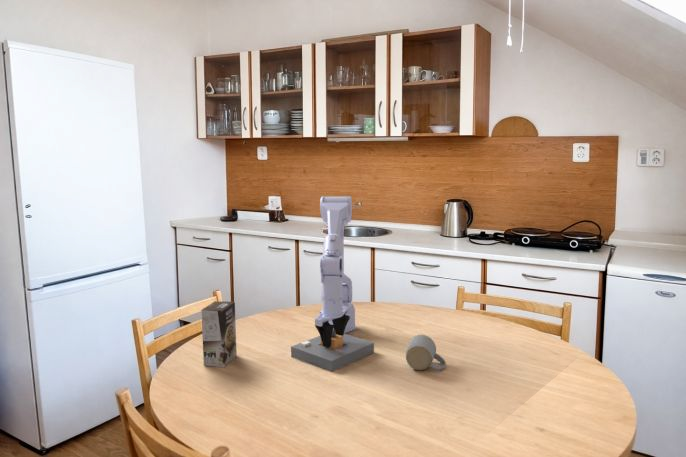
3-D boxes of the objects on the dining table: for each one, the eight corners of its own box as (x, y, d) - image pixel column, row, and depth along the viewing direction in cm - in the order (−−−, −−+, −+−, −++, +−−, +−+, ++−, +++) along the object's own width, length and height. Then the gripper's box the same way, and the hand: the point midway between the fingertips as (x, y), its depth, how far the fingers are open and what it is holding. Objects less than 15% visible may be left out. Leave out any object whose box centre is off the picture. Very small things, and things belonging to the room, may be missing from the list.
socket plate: (334, 339, 166) (333, 328, 166) (374, 352, 156) (374, 340, 155) (291, 356, 153) (290, 343, 153) (331, 371, 143) (331, 358, 142)
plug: (329, 350, 158) (328, 327, 157) (343, 354, 155) (342, 330, 154) (321, 354, 155) (320, 331, 153) (335, 358, 152) (334, 334, 151)
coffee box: (224, 367, 146) (222, 310, 143) (202, 366, 147) (200, 309, 145) (237, 355, 155) (235, 301, 152) (217, 353, 156) (214, 300, 154)
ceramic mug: (404, 370, 143) (405, 343, 142) (408, 358, 151) (409, 332, 150) (444, 375, 140) (445, 347, 139) (446, 363, 148) (447, 336, 147)
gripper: (334, 289, 160) (335, 333, 162) (305, 301, 148) (306, 348, 150) (354, 293, 156) (355, 337, 158) (326, 305, 144) (327, 353, 146)
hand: (332, 343), depth 154 cm, fingers open, 6 cm apart
